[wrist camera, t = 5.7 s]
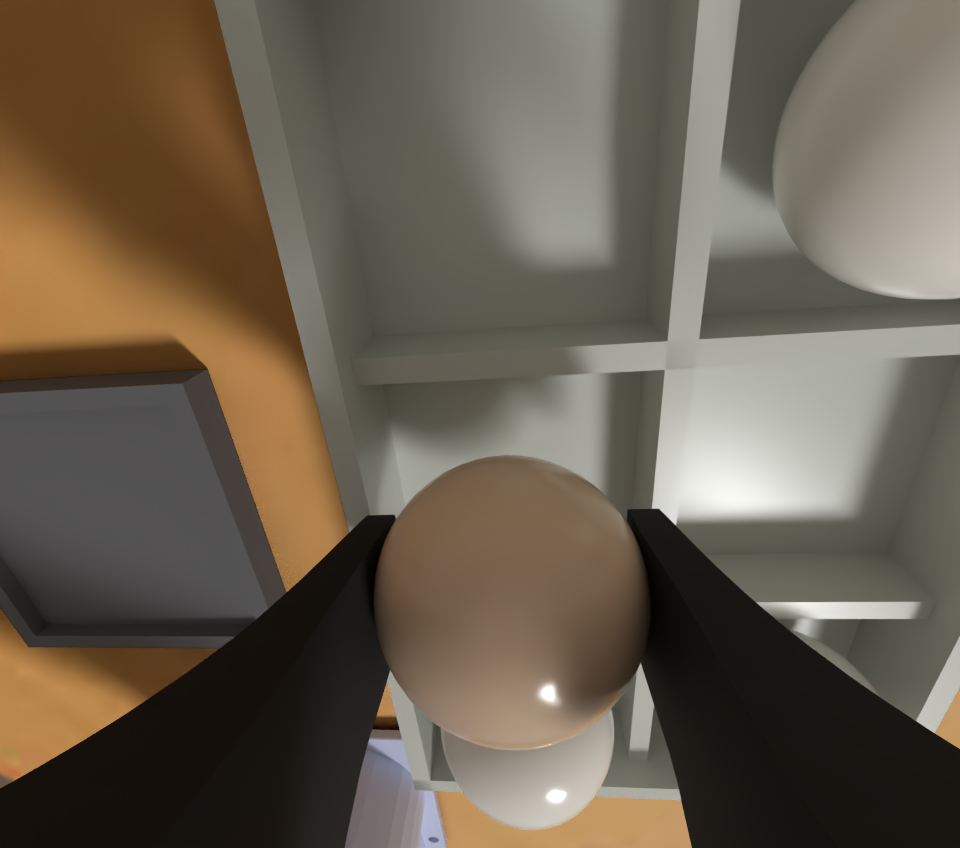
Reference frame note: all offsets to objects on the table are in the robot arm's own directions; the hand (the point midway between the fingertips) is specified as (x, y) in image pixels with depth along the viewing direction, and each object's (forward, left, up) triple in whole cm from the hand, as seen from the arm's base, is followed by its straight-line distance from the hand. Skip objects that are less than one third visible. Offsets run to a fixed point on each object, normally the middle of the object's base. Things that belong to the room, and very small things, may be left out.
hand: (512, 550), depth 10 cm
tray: (0, -4, -4) cm, 6 cm away
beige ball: (0, 0, -1) cm, 1 cm away
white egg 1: (-7, 0, -3) cm, 8 cm away
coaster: (-2, +13, -4) cm, 14 cm away
